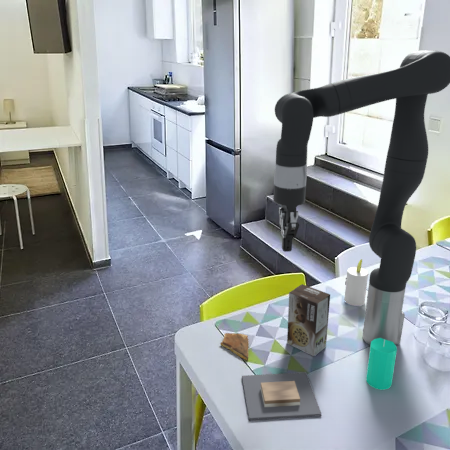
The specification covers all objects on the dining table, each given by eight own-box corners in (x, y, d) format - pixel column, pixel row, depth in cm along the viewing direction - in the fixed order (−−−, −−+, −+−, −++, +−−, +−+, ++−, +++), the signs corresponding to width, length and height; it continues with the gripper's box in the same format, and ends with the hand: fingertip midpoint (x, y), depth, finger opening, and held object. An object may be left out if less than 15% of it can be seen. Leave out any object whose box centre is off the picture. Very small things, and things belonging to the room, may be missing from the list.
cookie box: (327, 346, 126) (331, 294, 120) (313, 357, 122) (318, 303, 116) (299, 333, 132) (302, 283, 126) (285, 343, 127) (288, 291, 122)
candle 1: (348, 293, 153) (352, 252, 148) (367, 299, 149) (372, 257, 144) (340, 301, 148) (344, 259, 143) (360, 308, 145) (365, 264, 139)
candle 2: (388, 393, 109) (394, 350, 105) (362, 384, 112) (368, 342, 108) (394, 378, 114) (400, 337, 109) (369, 370, 117) (375, 329, 112)
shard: (248, 363, 120) (248, 357, 120) (218, 362, 121) (218, 356, 120) (248, 338, 130) (248, 333, 130) (221, 338, 131) (221, 332, 130)
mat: (306, 374, 115) (306, 372, 115) (321, 415, 102) (321, 413, 102) (242, 377, 114) (242, 375, 114) (249, 420, 101) (249, 418, 101)
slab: (294, 380, 109) (300, 398, 104) (294, 387, 110) (299, 405, 105) (260, 382, 109) (264, 400, 103) (260, 388, 110) (264, 407, 104)
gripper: (312, 190, 103) (308, 261, 109) (299, 175, 115) (295, 239, 121) (279, 191, 102) (276, 262, 108) (269, 175, 115) (267, 240, 121)
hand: (286, 250), depth 115 cm, fingers closed
